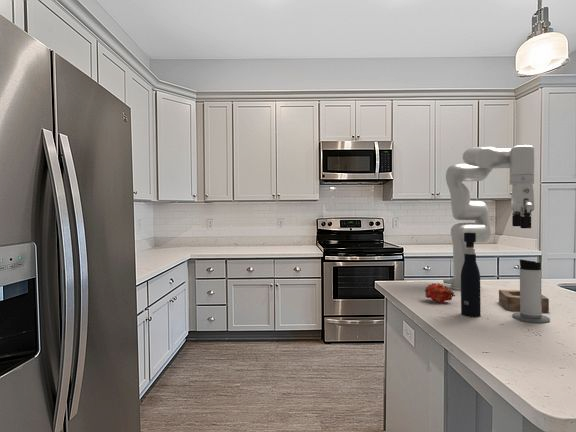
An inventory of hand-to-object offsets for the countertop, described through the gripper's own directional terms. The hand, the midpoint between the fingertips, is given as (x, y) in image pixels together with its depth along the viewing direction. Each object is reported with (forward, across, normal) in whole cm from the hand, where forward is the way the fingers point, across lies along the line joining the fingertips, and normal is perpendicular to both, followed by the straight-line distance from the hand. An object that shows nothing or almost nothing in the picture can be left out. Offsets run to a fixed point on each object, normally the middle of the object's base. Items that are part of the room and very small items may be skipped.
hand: (521, 227), depth 133 cm
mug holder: (+32, +9, -3) cm, 33 cm away
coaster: (+32, -7, -1) cm, 32 cm away
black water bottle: (+32, -7, +18) cm, 37 cm away
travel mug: (+31, -6, -1) cm, 32 cm away
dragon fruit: (+32, +10, +27) cm, 43 cm away
